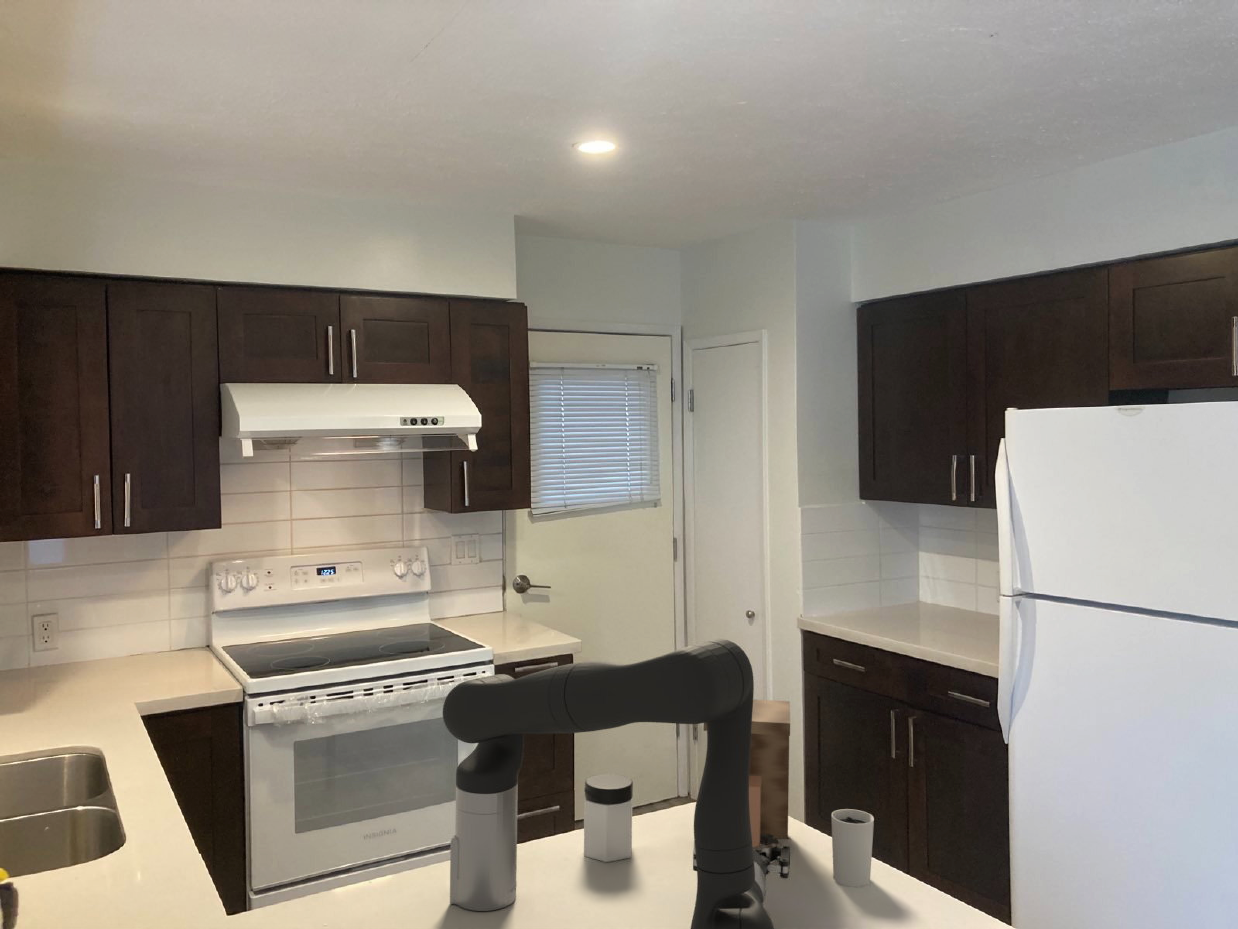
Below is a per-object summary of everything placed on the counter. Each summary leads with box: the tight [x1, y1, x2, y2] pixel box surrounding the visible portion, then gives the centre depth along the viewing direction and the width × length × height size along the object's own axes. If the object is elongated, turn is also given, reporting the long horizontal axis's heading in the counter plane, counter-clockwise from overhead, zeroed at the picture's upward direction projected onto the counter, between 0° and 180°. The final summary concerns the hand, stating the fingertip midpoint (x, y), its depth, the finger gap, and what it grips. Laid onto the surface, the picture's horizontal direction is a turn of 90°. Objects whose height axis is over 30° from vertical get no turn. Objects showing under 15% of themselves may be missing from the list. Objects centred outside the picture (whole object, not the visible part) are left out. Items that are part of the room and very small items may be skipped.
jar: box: [583, 773, 634, 863], centre depth 166 cm, size 9×8×12 cm
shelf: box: [703, 698, 791, 845], centre depth 169 cm, size 14×16×24 cm
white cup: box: [831, 808, 875, 888], centre depth 157 cm, size 7×7×10 cm
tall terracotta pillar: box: [749, 776, 761, 847], centre depth 168 cm, size 4×6×12 cm
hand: (743, 839), depth 152 cm, fingers open, 8 cm apart
